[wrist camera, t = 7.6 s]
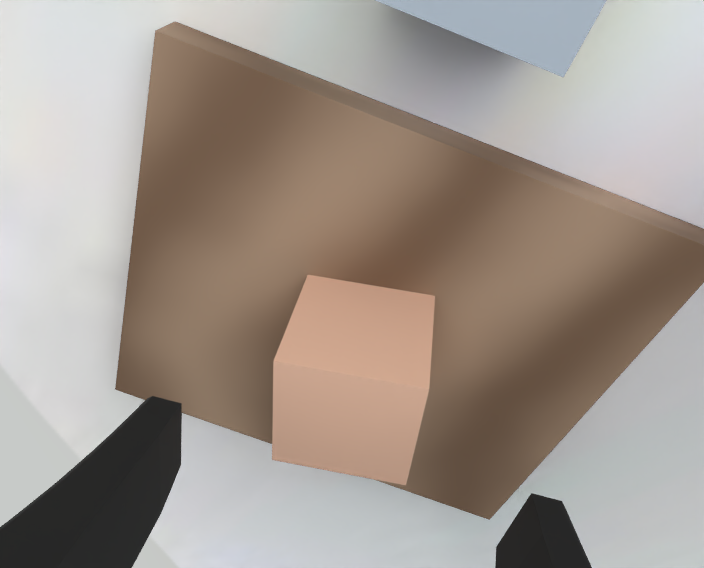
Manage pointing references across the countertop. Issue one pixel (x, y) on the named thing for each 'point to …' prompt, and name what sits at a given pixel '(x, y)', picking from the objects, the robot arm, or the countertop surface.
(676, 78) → the countertop surface
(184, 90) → the walnut board
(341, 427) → the terracotta block
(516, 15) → the slate block
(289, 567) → the countertop surface
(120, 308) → the countertop surface
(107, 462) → the robot arm
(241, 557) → the countertop surface
